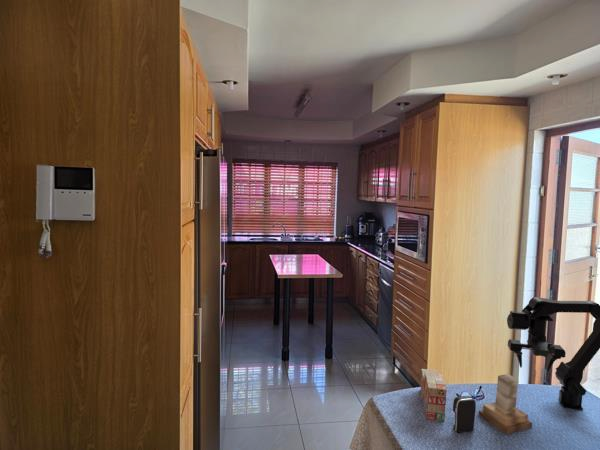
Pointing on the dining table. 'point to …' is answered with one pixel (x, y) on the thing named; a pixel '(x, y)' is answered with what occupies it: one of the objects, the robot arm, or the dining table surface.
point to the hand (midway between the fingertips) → (533, 369)
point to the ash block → (506, 393)
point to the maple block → (505, 415)
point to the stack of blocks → (433, 394)
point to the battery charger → (464, 413)
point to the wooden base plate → (502, 428)
